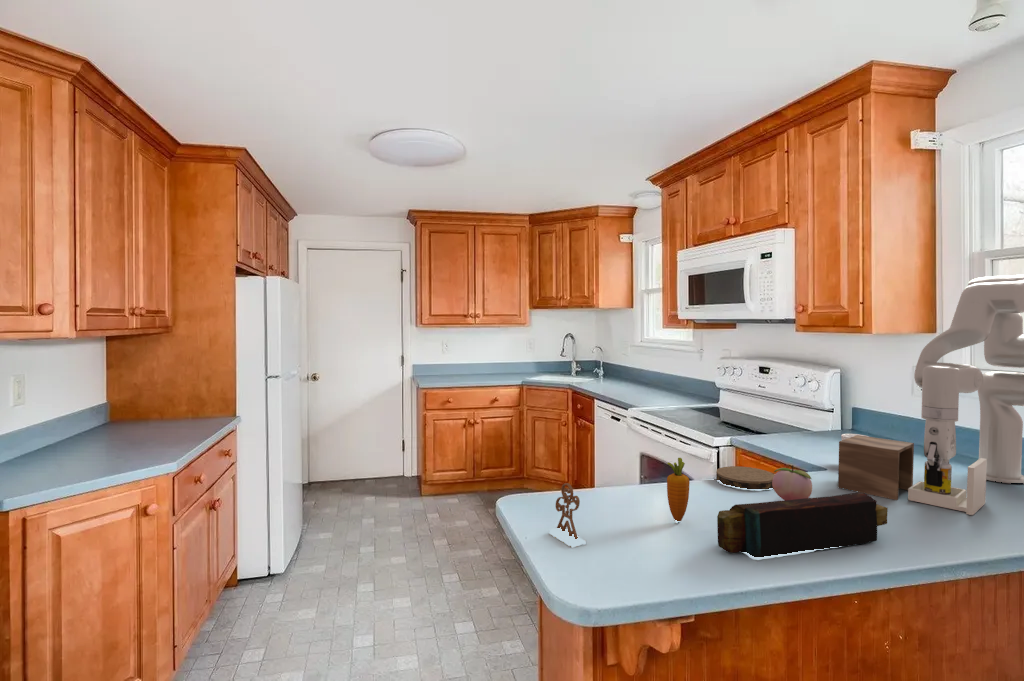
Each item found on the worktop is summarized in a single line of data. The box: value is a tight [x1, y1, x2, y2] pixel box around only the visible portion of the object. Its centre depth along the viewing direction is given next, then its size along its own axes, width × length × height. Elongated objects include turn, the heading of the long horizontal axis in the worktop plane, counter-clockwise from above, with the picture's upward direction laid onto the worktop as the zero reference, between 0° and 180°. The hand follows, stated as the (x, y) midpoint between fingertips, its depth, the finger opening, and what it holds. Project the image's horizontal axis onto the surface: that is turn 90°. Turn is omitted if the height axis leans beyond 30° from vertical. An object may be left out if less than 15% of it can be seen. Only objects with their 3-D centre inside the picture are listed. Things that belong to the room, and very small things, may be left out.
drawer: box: [907, 458, 987, 516], centre depth 143 cm, size 14×14×11 cm
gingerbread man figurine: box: [555, 482, 581, 539], centre depth 119 cm, size 9×4×12 cm, turn 29°
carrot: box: [666, 457, 691, 522], centre depth 128 cm, size 5×5×15 cm
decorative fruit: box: [772, 465, 813, 501], centre depth 142 cm, size 9×8×10 cm
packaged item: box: [716, 492, 889, 557], centre depth 117 cm, size 39×10×10 cm, turn 106°
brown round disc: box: [715, 465, 775, 489], centre depth 161 cm, size 16×16×3 cm
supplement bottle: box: [923, 456, 953, 496], centre depth 144 cm, size 6×6×10 cm
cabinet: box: [837, 434, 915, 501], centre depth 155 cm, size 14×14×13 cm
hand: (937, 482), depth 144 cm, fingers open, 5 cm apart
